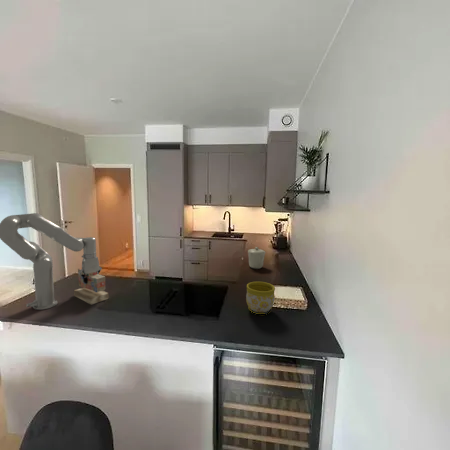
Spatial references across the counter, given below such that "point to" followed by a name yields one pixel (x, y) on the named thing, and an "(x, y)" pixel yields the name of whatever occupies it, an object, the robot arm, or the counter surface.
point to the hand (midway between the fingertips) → (91, 281)
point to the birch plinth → (91, 295)
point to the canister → (256, 258)
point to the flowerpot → (260, 297)
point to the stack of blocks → (92, 281)
